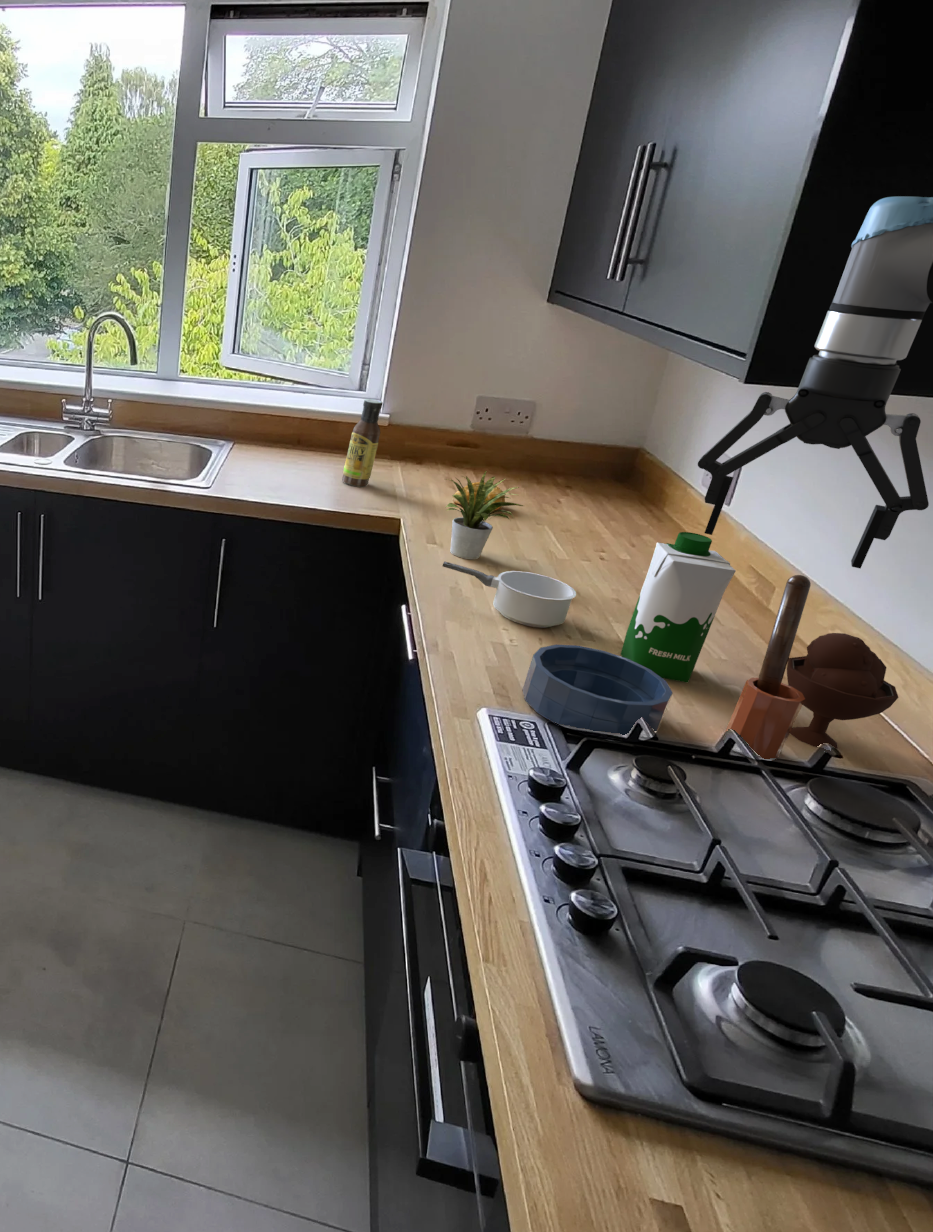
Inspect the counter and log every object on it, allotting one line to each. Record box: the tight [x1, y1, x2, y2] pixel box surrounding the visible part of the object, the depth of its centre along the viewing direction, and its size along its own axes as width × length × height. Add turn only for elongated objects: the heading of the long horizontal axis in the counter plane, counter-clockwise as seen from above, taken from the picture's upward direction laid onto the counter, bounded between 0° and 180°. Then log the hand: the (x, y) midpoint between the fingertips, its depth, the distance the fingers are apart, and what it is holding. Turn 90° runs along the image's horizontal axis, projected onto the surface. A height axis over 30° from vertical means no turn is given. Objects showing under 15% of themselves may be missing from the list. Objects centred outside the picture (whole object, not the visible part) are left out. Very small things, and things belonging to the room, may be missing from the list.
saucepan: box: [442, 561, 577, 629], centre depth 145 cm, size 12×20×6 cm, turn 58°
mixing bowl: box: [522, 644, 674, 735], centre depth 115 cm, size 16×16×6 cm
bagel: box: [451, 481, 506, 512], centre depth 200 cm, size 10×11×5 cm
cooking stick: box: [756, 574, 811, 696], centre depth 107 cm, size 2×2×22 cm
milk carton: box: [620, 531, 737, 684], centre depth 126 cm, size 9×9×20 cm
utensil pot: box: [724, 677, 805, 759], centre depth 108 cm, size 6×6×9 cm
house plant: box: [445, 470, 524, 560], centre depth 166 cm, size 14×14×16 cm
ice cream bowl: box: [786, 632, 899, 750], centre depth 111 cm, size 11×11×15 cm
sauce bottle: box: [341, 398, 384, 488], centre depth 206 cm, size 6×6×20 cm
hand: (779, 547), depth 101 cm, fingers open, 13 cm apart
